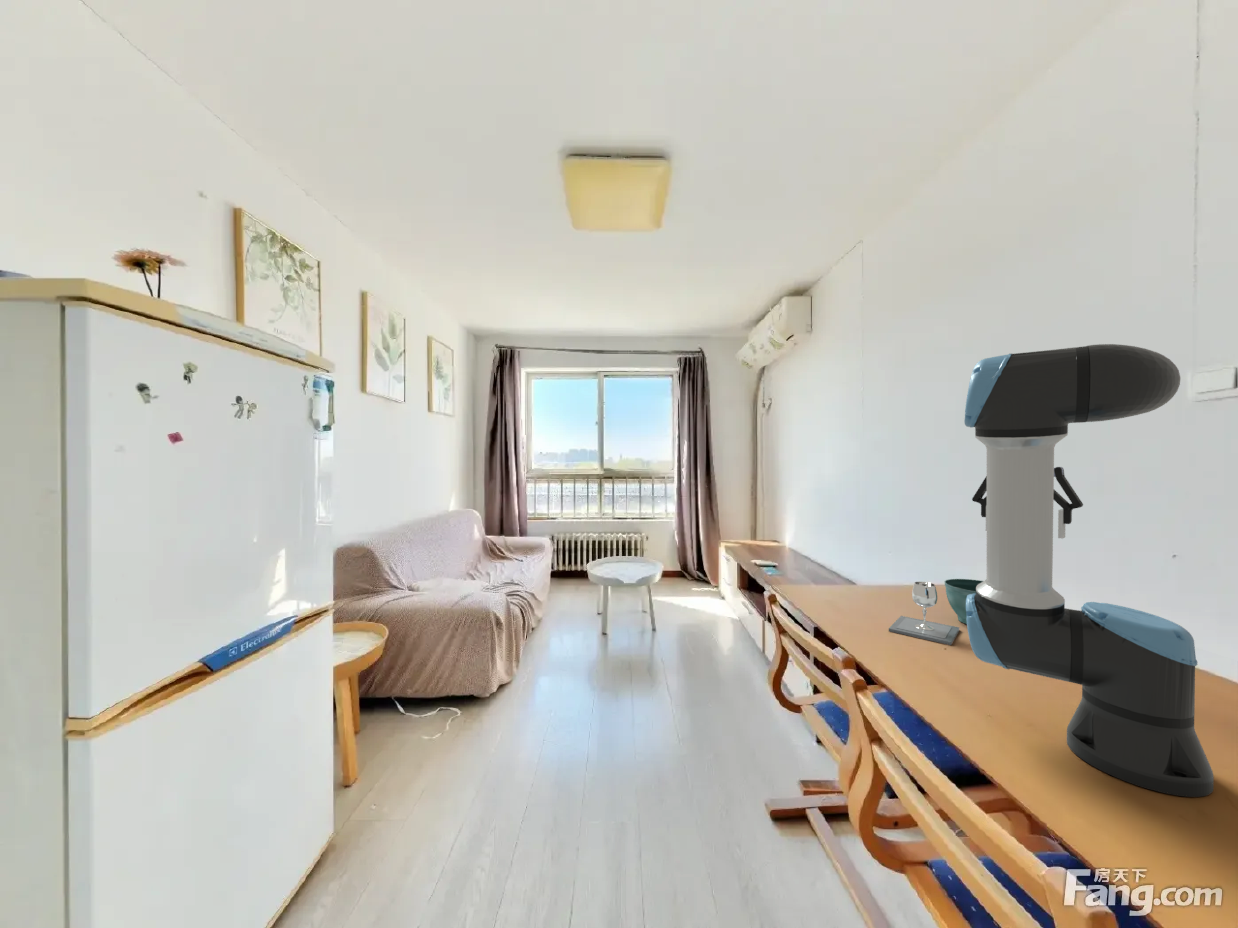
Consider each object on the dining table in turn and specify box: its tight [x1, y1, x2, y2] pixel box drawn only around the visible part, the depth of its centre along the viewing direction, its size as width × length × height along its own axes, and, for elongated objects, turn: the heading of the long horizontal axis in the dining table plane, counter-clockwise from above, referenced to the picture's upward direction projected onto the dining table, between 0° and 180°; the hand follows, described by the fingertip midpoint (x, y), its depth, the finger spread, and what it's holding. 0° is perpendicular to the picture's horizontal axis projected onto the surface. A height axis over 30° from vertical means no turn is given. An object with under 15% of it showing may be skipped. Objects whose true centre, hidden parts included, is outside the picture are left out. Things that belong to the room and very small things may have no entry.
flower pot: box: [944, 578, 984, 625], centre depth 133 cm, size 16×16×11 cm
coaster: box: [888, 615, 960, 646], centre depth 127 cm, size 14×14×1 cm
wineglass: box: [911, 581, 938, 631], centre depth 127 cm, size 6×6×12 cm
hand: (1023, 534), depth 113 cm, fingers open, 13 cm apart
